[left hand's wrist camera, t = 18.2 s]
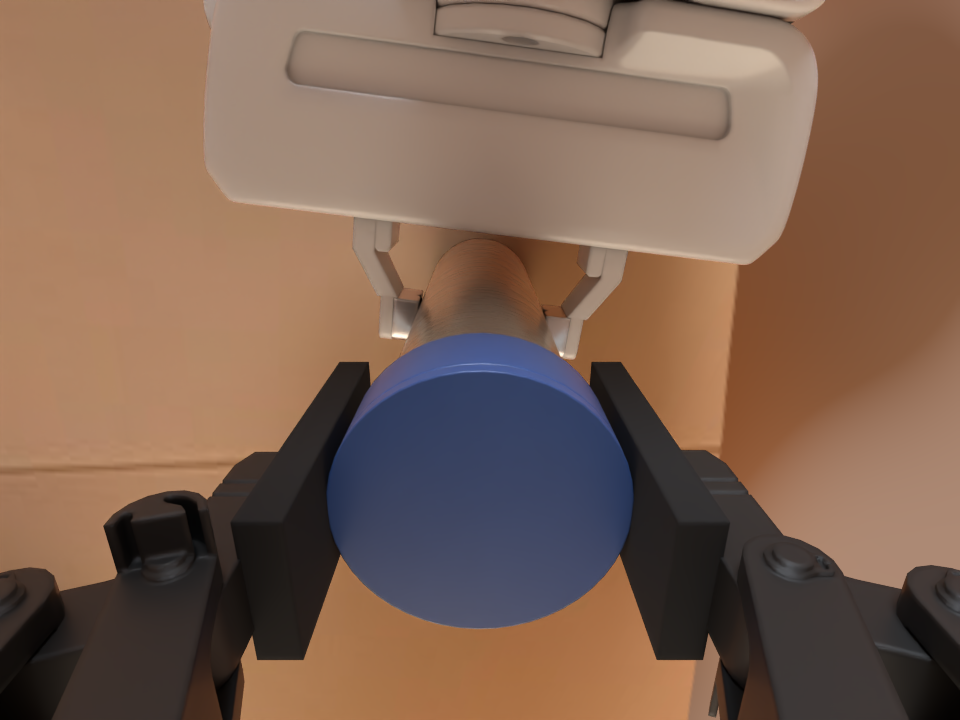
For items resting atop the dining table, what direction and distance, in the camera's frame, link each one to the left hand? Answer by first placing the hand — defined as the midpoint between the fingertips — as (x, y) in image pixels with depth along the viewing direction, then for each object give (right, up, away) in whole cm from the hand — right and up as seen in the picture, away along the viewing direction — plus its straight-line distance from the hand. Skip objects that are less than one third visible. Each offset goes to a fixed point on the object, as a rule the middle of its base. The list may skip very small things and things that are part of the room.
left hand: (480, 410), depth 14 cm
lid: (0, -1, -4) cm, 4 cm away
